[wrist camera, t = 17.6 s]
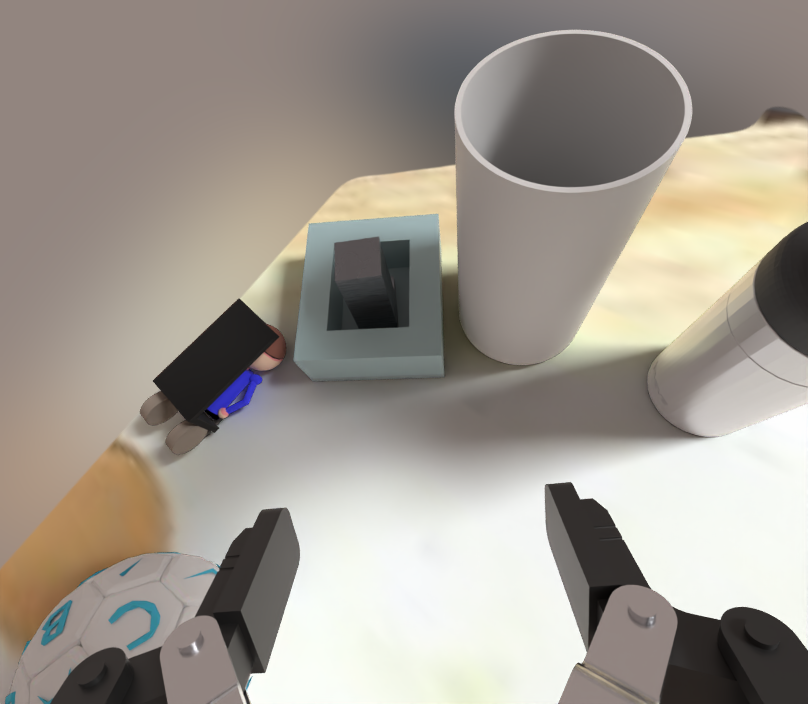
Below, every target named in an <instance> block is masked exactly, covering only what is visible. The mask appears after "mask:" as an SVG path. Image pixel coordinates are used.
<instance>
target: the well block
mask: <svg viewBox="0 0 808 704" xmlns="http://www.w3.org/2000/svg"><path fill="white" fill-rule="evenodd" d="M378 236H379V238H380V242H381V245H382V249H383V252H384V256H385V260H386V263H387V267H388V270H389V274H390V276H393V277H394V280H395V286H396V299H397V311H398V324H399V328H378V329H359V328H358V326H357V324H356V322H355V320H354V318H353V316H352V314H351V312H350V310H349V308H348V306H347V304H346V302H345V300H344V298H343V296H342V294H341V292H340V290H339V288H338V286H337V284H336V282H335V252H334V243H336V242H343V241H350V240H357V239H364V238H371V237H378ZM293 361H294V362H295V363H296V364H297V365H298V366H299V367H300V368H301V369H302V370H303V372H304V373H305V374H306V375H307V376H308V377H309V378H310V379H311V380H312V381H343V380H374V379H406V378H438V377H444V341H443V304H442V266H441V242H440V229H439V216H438V214H430V215H417V216H404V217H391V218H377V219H364V220H351V221H337V222H324V223H311V224H309V228H308V237H307V246H306V254H305V263H304V272H303V280H302V289H301V298H300V307H299V315H298V324H297V333H296V341H295V350H294V359H293Z"/></svg>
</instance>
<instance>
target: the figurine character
mask: <svg viewBox="0 0 808 704" xmlns="http://www.w3.org/2000/svg"><path fill="white" fill-rule="evenodd" d="M285 354H286V342H285V339H284V337H283V335H282V334H281V332H280V331H279V330H278V329H276V328H275V327H273V326H271V325H268V324H266V323H265V322H264V321H263V320H261V319H260V318H259V317H258V316H257V315H256V314H255V313H254V312H253V311H252V310H251V309H250V308H249V307H248V306H247V305H246V304H245V303H244V302H243V301H241V300H240V299H238V300H237V301H236V302H235V303H234V304H232V305H231V307H229V308H228V309H227V310H226V311H225V312H224V313H223V314H222V315H221V316H220V317H219V318H218V319H217V320H216V321H215V322H214V323H213V324H211V325H210V326H209V327H208V328H207V329H206V330H205V331H204V332H203V333H202V334H201V335H200V336H199V337H198V338H197V339H196V340H195V341H194V342H193V343H192V344H191V345H190V346H188V347H187V348H186V349H185V350H184V351H183V352H182V353H181V354H180V355H179V356H178V357H177V358H176V359H175V360H174V361H173V362H172V363H171V364H170V365H169V366H167V367H166V369H164V370H163V371H162V372H161V373H160V374H159V375H158V376H157V377H156V378H155V379H154V380H153V382H154V383H155V384H156V385H157V387H158V388H159V389H160V390H161V391H160V392H158V393H156V394H154V395H153V396H151V397H150V398H149V399H147V400H146V401H145V403H144V404H143V405H142V407H141V409H140V414H141V416H142V417H143V418H144V419H145V421H146V422H147V423H148V424H149V425H159V424H161V423H164V422H166V421H167V420H169V419H170V418H172V417H173V416H174V415H175V414H176V413H177V412H178V411H179V412H180V413H181V414H182V416H183V417H184V418H185V419H186V420H185V421H183V422H181V423H180V424H178V425H177V426H176V427H175V428H173V429H172V430H171V432H170V433H169V434H168V436H167V438H166V441H165V442H166V445H167V446H168V447H169V448H170V450H171V451H172V452H173V453H174V454H176V455H179V454H183V453H186V452H188V451H190V450H191V449H193V448H194V447H196V446H197V445H198V444H199V443H200V442H201V441H202V440H203V439H204V438H205V436H208V435H209V434H210V432H211V431H212V432H214V433H215V432H216V431H217V430H218V429H219V428H218V427H217V425H218V424H219V422H220V421H221V420H222V419H223V418H226V417H227V416H228V415H229V414H230V413H232V412H234V411H236V410H238V409H240V408H242V407H244V406H246V405H248V404H249V402H250V400H251V397H252V395H253V393H254V390H255V388H256V385H258V384H260V383H261V382H262V378H261V376H259V375H257V374H254V373H253V372H252V371H251V370H250V368H252V369H255V370H259V371H265V370H270V369H273V368H275V367H276V366H278V365H279V364H280V363H281V362H282V360H283V359H284V357H285ZM249 383H250V384H249ZM248 384H249V386H248V389H247V391H246V393H245V396H244V398H243V400H241V401H239V402H237V403H235V404H233V405H231V406H229V405H230V404H231V403H232V401H233V400H234V399H235V398H236V397H237V396H238V395H239V394H240V393H241V391H242V390H243V389H244V388H245V387H246V386H247V385H248ZM228 406H229V407H228ZM204 411H205V412H206V413H207V414H208V415H209V416H210V417H212V418H213V419H214V420H213V421H212V420H211V419H210V418H209V417H208V415H207V414H206V413H205V412H204Z"/></svg>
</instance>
